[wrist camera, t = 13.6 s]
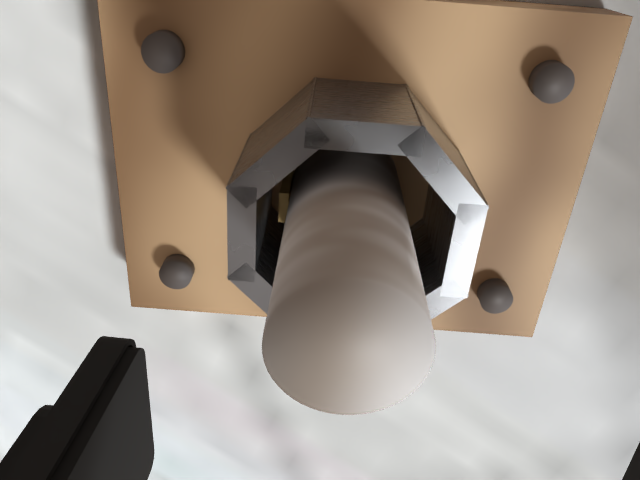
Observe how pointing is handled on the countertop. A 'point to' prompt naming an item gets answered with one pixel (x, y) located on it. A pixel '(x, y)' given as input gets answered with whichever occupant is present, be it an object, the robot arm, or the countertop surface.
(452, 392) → the countertop surface
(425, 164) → the grey hollow octagonal piece
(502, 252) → the shaft block
